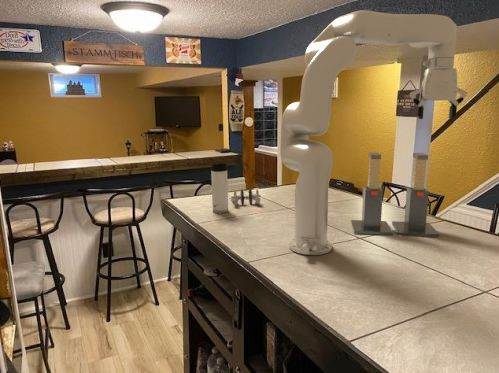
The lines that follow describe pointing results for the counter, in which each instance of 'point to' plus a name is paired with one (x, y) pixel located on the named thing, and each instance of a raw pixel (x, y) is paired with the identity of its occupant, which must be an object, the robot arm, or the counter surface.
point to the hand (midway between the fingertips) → (435, 118)
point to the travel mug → (219, 187)
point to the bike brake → (254, 196)
